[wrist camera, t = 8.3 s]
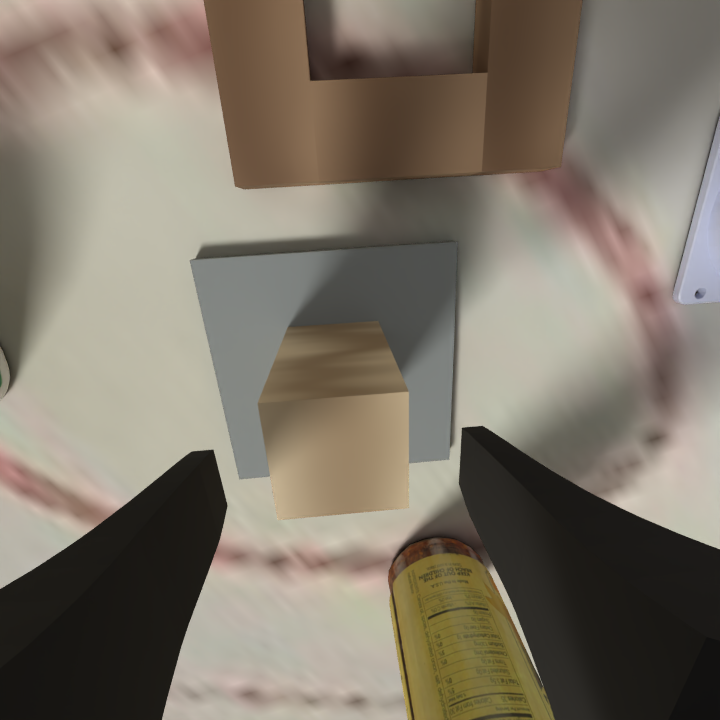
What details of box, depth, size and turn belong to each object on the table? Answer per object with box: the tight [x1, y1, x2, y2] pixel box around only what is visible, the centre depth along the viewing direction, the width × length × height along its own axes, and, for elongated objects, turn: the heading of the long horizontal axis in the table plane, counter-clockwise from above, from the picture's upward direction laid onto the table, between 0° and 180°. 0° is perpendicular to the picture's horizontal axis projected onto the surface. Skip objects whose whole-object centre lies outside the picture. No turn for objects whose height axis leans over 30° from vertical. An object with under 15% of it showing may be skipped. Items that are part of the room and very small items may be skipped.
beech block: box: [257, 321, 409, 520], centre depth 14 cm, size 4×4×7 cm
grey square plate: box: [190, 241, 458, 479], centre depth 17 cm, size 11×11×1 cm
